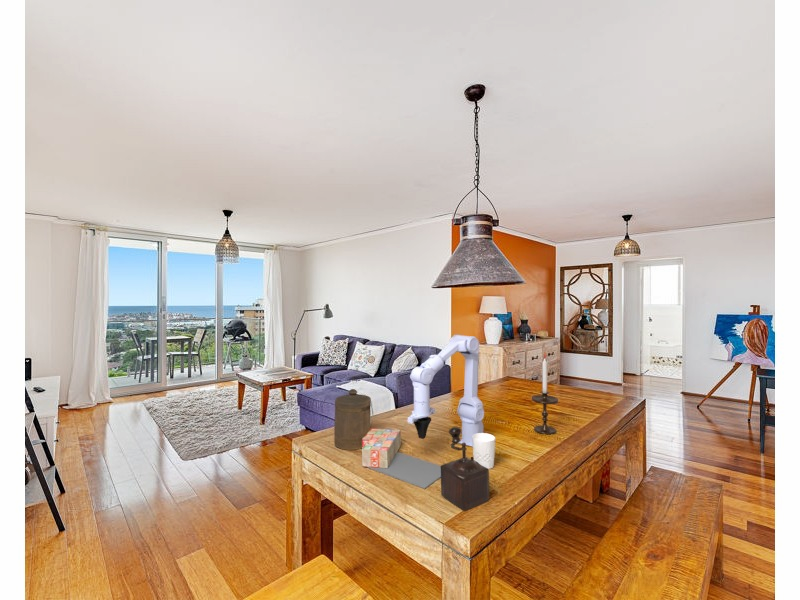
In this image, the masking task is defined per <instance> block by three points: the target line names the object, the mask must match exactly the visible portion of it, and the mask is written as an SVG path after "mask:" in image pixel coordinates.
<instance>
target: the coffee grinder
mask: <svg viewBox="0 0 800 600" xmlns="http://www.w3.org/2000/svg"><path fill="white" fill-rule="evenodd" d="M448 433H449V435H450V436H451V438H452V440H451V442H452V443H451V444H450V448H451V449H452V450H455V451H461V452H462V457H460V458H457V459H455V460H452V461H449V462H447V463H443V464H441V465H440V466H441V478H440V491H441V492H440V493H441V494H440V495H441V497H442V498H443V499H444V500H446V501H448V502H450V504H453V505H454V506H455V507H456V508H459V509H460V510H461V511H463V512H465V511H469V510H471V509H473V508H475V507H478V506H480V505H482V504H485V503H487V502H489V500H490V474H489V473H490V472H489V471H490V469H488V468H486V467H484V466H482V465H480V464H479V463H478V462H477V461H475V460H474V456H471V457H470V458H468V457H466V456H467V455H466V451H467V447H466V446H467V445H466V443H464V442H463V443H462V444H461V447H460V446H459V447H458V446H456V445H458V444H459V443H458V442H460V441H461V439H460V436H461V435H462V428H460V427H458V426H453V427H451V428H450V429H449V431H448Z"/></svg>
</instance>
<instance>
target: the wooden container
mask: <svg viewBox="0 0 800 600" xmlns="http://www.w3.org/2000/svg"><path fill="white" fill-rule="evenodd" d="M371 400H372V399H371V397H370V396H368V395H366V394H360V393H359V394H358V390H357V389H356V388H351V389H349V390H348V394H344V395H340V396H337V397H336V398H335V399H334V425H333V426H334V431H333V432H334V437H333V438H334V446H335V447H336V448H338V449H341V450H345V451H353V450H354V451H356V450H362V439H363V438H364V437H365V436H366V435H367V433H368V432H369V431H370V430H371V429H372V419H371V418H372V417H371V415H372V414H371V412H372V411H371V410H372V409H371V406H372V401H371Z"/></svg>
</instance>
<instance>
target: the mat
mask: <svg viewBox="0 0 800 600" xmlns="http://www.w3.org/2000/svg"><path fill="white" fill-rule="evenodd" d="M367 469H369V470H373V471H375V472H378V473H381V474H384V475H385V476H388V477H391V478H393V479H394V478H395V479H396V480H400V481H401V482H404V483H407V484H410V485H413V486H415V487H418V488H420V489H423V490H426V489H428V488H429V487H430V486H431V485H433V484H434V483H435V482H437V481H439V480H441V465H440V464H437V463H434V462H430V461H427V460H424V459H421V458H419V457H414V456H412V455H408V454H405V453H402V452H399V451H397V453H396V454H395V456H394V458H393V459H392V461H391V463H390V465H389V467H388V468H376V467H367Z"/></svg>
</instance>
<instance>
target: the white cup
mask: <svg viewBox="0 0 800 600" xmlns="http://www.w3.org/2000/svg"><path fill="white" fill-rule="evenodd" d="M472 439H473V447H472V452H473V453H472V454H473V456H472V457H473V458H474V459H473V460H475V461H477V462H478V463H479V464H480V465H482V466H484V467H486V468H488V469H489V470H491V469H493V468H494V466H495V454H496V453H495V452H496V437H495V436H494V434H493V435H492V434H491V433H487V432H483V433H477V434H474V435H473V436H472Z"/></svg>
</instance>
